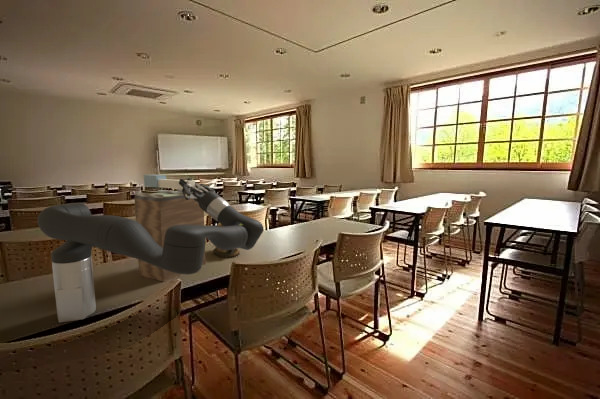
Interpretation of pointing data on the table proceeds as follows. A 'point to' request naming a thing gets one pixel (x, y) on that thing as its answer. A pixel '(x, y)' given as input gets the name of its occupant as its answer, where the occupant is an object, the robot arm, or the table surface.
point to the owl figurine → (226, 251)
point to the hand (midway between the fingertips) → (183, 180)
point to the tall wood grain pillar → (164, 222)
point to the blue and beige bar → (163, 182)
